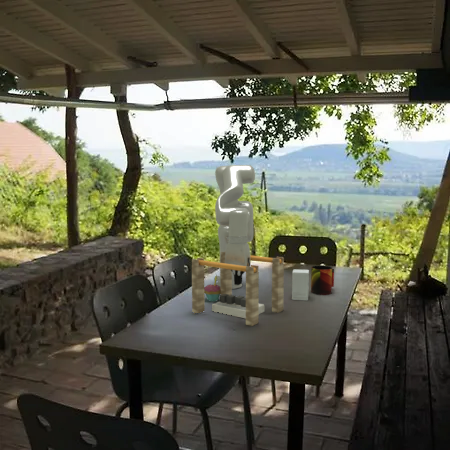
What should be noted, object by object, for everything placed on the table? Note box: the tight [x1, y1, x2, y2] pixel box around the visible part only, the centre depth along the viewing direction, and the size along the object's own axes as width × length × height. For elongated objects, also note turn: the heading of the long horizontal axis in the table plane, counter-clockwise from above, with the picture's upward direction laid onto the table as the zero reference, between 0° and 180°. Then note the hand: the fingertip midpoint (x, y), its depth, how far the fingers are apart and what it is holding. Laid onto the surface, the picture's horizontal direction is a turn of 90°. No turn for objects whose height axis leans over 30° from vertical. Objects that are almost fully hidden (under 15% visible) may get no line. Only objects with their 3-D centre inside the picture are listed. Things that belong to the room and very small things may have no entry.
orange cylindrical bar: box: [250, 254, 282, 264], centre depth 210 cm, size 29×2×2 cm, turn 55°
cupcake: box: [204, 274, 221, 302], centre depth 221 cm, size 9×8×12 cm
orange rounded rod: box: [199, 260, 256, 273], centre depth 194 cm, size 29×2×2 cm, turn 55°
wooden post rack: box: [191, 251, 285, 327], centre depth 203 cm, size 29×24×22 cm
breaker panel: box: [211, 294, 265, 319], centre depth 204 cm, size 18×12×6 cm, turn 55°
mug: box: [310, 265, 335, 296], centre depth 235 cm, size 10×14×12 cm
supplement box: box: [291, 268, 310, 302], centre depth 223 cm, size 7×7×13 cm
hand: (238, 284), depth 203 cm, fingers closed
